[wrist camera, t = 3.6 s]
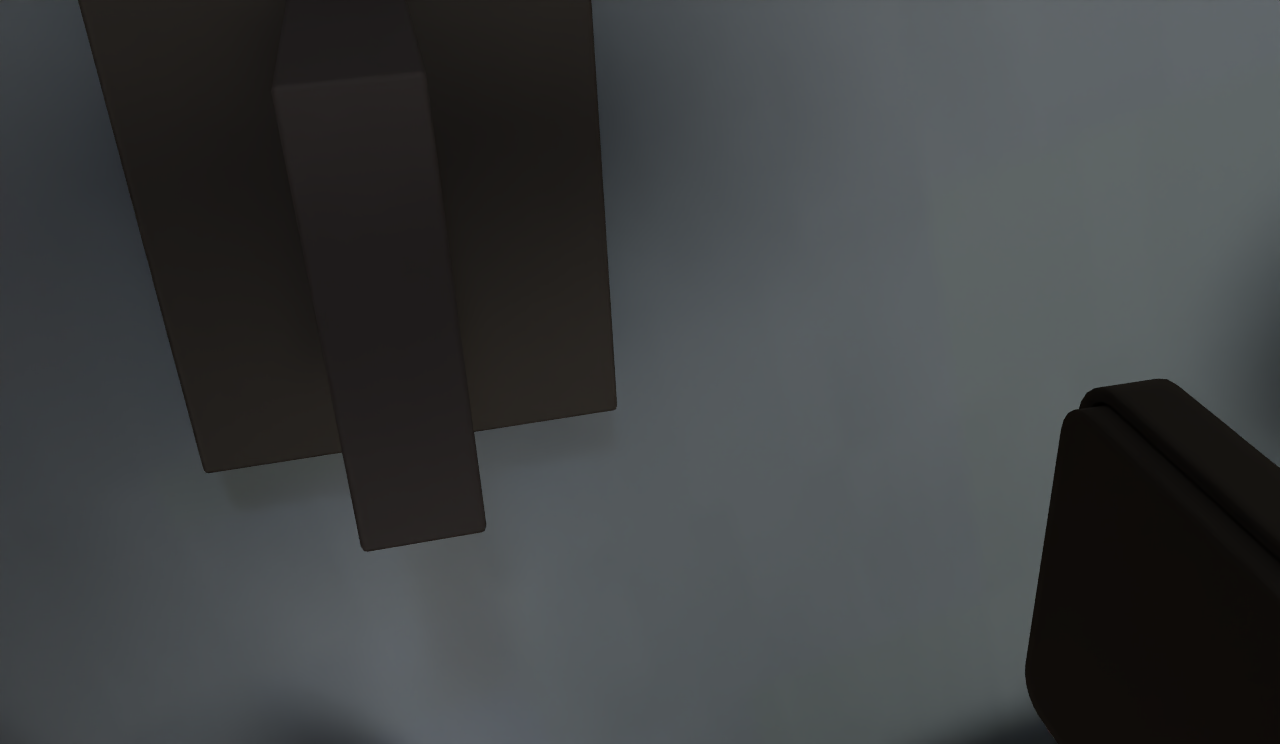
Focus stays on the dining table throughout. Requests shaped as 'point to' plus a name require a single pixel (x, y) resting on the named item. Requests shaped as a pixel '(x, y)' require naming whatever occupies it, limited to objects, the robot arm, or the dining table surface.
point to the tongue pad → (256, 235)
